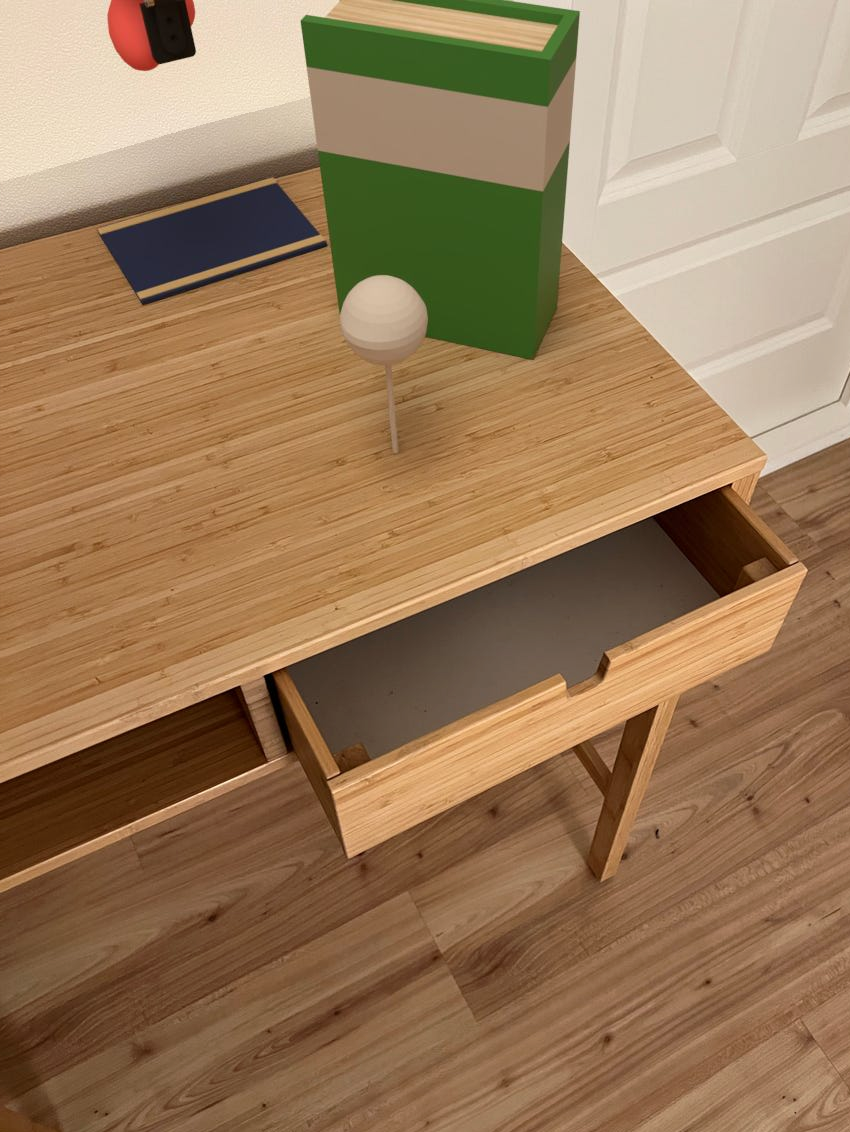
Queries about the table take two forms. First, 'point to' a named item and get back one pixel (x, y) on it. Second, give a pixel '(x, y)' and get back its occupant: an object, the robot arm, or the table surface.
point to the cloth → (209, 239)
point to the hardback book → (448, 156)
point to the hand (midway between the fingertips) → (155, 34)
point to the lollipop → (384, 327)
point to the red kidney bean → (134, 32)
